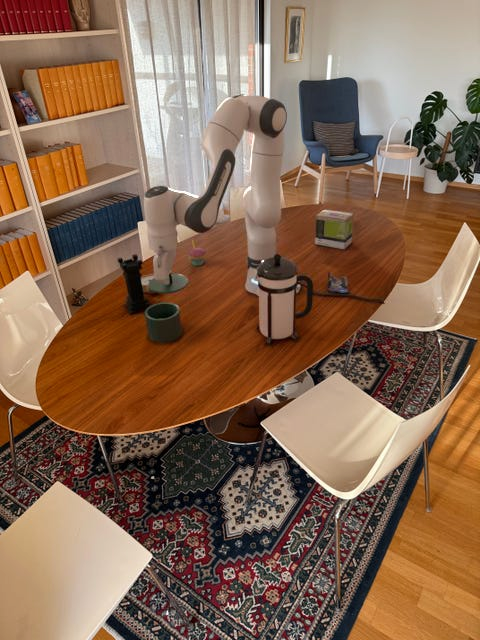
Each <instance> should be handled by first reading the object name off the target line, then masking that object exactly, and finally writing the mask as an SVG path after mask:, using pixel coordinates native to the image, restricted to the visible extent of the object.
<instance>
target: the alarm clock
mask: <svg viewBox="0 0 480 640" xmlns="http://www.w3.org/2000/svg"><path fill="white" fill-rule="evenodd" d="M153 278H155V275H154V273H150V274H145V275H142V277H141V282H142V287H143V293H148V294H149V295H155V294H157V292H154V291H152V290H151V289H150V288H149V282H150V281H151V280H152V279H153Z"/></svg>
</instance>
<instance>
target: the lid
mask: <svg viewBox="0 0 480 640" xmlns="http://www.w3.org/2000/svg"><path fill="white" fill-rule="evenodd" d="M169 278H170V284H169V285H165V284H164V281H156V280H155V278H153V279H152V280H151V281H150V282H149V288H150V289H151V290H152V291H154V292H156V294H173V293H178V292H180V291H182V290H184V289H185V288H187V287H188V285H189V278H187V277H186V276H185V275H183V274H180V273H172V274H171V272H170V274H169Z"/></svg>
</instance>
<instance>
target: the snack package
mask: <svg viewBox="0 0 480 640" xmlns="http://www.w3.org/2000/svg"><path fill="white" fill-rule="evenodd" d="M327 280H328V281H327V285H326V289H327V292H328V293H329V292H336V294H350V288H348V284H349V281H348V278H347V276H346V275H344V274H341V279H340V278H338V277H335V276H334V275H332V274H331V272H330V271H327Z"/></svg>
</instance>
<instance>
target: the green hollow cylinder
mask: <svg viewBox="0 0 480 640" xmlns="http://www.w3.org/2000/svg"><path fill="white" fill-rule="evenodd" d="M144 318H145V319H144V320H145V322H146V329H147V335H148V338H149V339H150V340H151V341H152V342H155V343H162V344H163V343H164V344H165V343H169V342H173V341H176V340H178V339H179V338H180V336H182V334H183V324H182V318H181V310H180V307H179V305H177V304H175V303H173V302H158V303H154V304H152V305H150V307H149V308H147V309H146V311H144Z"/></svg>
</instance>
